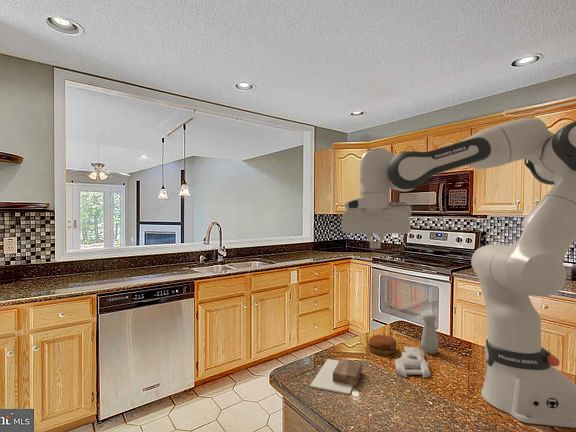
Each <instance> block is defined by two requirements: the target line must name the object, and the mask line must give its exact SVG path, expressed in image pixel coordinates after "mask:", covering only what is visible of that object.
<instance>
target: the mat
mask: <svg viewBox="0 0 576 432" xmlns="http://www.w3.org/2000/svg"><path fill="white" fill-rule="evenodd" d="M339 361H340V360H337V359H330V358H327V359H326V361H325V362H324V364H323V365H322V367H321V368H320V370H319V371H318V373H317V375H316V376H315V377H314V379H313V380H312V381H311V383H310V385H309V388H313V389H320V390H323V391H329V392H334V393H338V394H343V395H348V396H349V395H351V393H352V390H353V388H354V385H350V384H345V383H339V382H334V381H333V371H334V370H335V368H336V366H337V364H338V363H339Z"/></svg>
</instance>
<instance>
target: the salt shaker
mask: <svg viewBox="0 0 576 432" xmlns="http://www.w3.org/2000/svg"><path fill="white" fill-rule="evenodd" d="M422 320H423V321H424V322H423V328H422V332H421V340H420V348H421V350H422V351H423V352H424V353H425V354H427V355H434V354H437V352H438V351H439V347H440V345H439V340H438V339H439V338H438V334H437V330H436V325H435V323H436V321H437V316H436V314H434V313H431V312H424V313H423V314H422Z"/></svg>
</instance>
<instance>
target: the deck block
mask: <svg viewBox="0 0 576 432" xmlns="http://www.w3.org/2000/svg"><path fill="white" fill-rule="evenodd" d="M338 361H339V363H338V364H337V366H336V368H335V370H334V371H333V381H334V382H339V383H345V384H350V385H353V386H357V384H358V381H359V379H360V377H361V373H362V369H363V367H362V362H357V361H351V360H345V359H339V360H338Z"/></svg>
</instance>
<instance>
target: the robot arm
mask: <svg viewBox="0 0 576 432" xmlns="http://www.w3.org/2000/svg"><path fill="white" fill-rule="evenodd" d="M521 160H524V166H525V167H527V169H528V170H529V172H530V173H531V174H532V176H533V177H534V178H535V179H536V180H537V181H538V182H540V183H542V184H545V185H549V186H552V187H551V189H550V190H549V191H548V192H547V193H546V194H545V195H544V196H543V197H542V198H541V199H540V200H539V201H538V203H537V204H536V205H535V206H534V207H533V208H532V209H531V210H530V212H528V214H526V215H525V217H523V219H522V223H521V225H522V229H523V230H522V232H521V235H520V236H519V238H518V239H517V240H516V242H515V243H513V244H511V245H509V244H505V243H504V244H503V243H492V244H486V245H483V246H480V247H479V248H477V249H476V250H475V251H474V252H473V255H472V257H471V264H470V265H471V268H472V270H473V271H474V273H475V274H476V276H477V278H478V280H479V284H480V285H479V286H480V288H481V291H482V296H483V298H484V299H483V300H484V303H485V309H486V315H487V316H486V319H487V321H486V323H487V324H486V325H487V338H486V341H485V347H484V348H485V350H484V351H485V352H484V353H485V354H484V355H485V361H486V363H487V364H486V371H485V372H486V373H485V378H484V383H483V386H482V388H481V396H482V398H483V399H484V401H486V402H487V403H488V404H490V405H491V406H493V407H494V408H496V409H498V410H500V411H502V412H505V413H506V414H509V415H510V416H512V417H513V418H515V419H517V420H518V421H519V422H523V424H524V423H525V424H532V425H545V426H552V427H562V428H563V427H564V428H573V429H576V383H574V382H573V381H572V380H571V379H570V378H569V377H567V376H566V375H564V374H563V372H561V371H560V370H558V369H557V368H556V367H558V366H560V364H561V362H560V360H559V359H558V357H557V356H555V355H554V354H552V353H551V352H550V351H549V350H546V348H544V347H543V346H542V320H541V316H540V314H539V312H538V311H537V309H536V308H535V307H534V305H533V302H531V298H530V296H533V297H551V296H553V295H555V294H557V293H558V292H560V291H561V290H562V289H563V288H564V286H565V284H566V280H567V269H566V268H565V265H564V260H565V257H566V254H567V252H568V250H569V249H570V247H571V245H572V244H573V243H574V242H575V241H576V121H573V122H570V123H568V124H565V125H564V126H562V127H561V128H560V129H558V130H557V131H556V132H555V133H553V132H552V131H551V130H549V128H548V125H547V124H546V123H545V122H544V121H543V120H541V119H540V118H536V117H527V118H519V119H515V120H510V121H506V122H503V123H499V124H497V125H493V126H490V127H487V128H485V129H483V130H480V131H477V132H475V133H474V134H472V135H470V136H469V137H467V138H465V139H463V140H461V141H460V142H456V143H453V144H449V145H447V146H442V147H439V148H436V149H433V150H430V151H413V150H411V151H409V150H408V151H402V152H400V153H398V154H394V153H393V152H391V151H389V150H388V149H386V148H384V147H380V148H379V147H378V148H373V149H370V150H368V151H366V152H364V153H363V154H362V155H361V158H360V162H359V182H360V183H359V184H360V190H359V197H357V198H354V199H352V200H348V201H346V202H345V203H344V209H345V210H344V211H343V212H342V215H341V216H342V217H341V223H340V228H341V229H340V230H341V232H342V234H365V237H366V239H367V241H368V242H369V248H370V249H373V250H374V249H375V250H376V249H377V250H380V249H381V243H382V241H383V240H384V238H385V234H394V235H395V234H396V235H397V234H403V235H404V234H409V233H410V232H411V219H410V217H411V216H412V212H413V211H412V206H411V205H410V204H409V203H406V202H404V201H402V202H395V201H394V202H391V197H390V196H391V190H394V191H398V192H409V191H412V190H414V189H415V188H417V187H420V186H421V185H422V184H423V183H425V182H426V181H427V180H428V179H429V178H431V177H432V176H435V175H438V174H441V173H444V172H448V171H451V170H455V169H458V168H463V167H473V168H475V169H478V170H482V169H491V168H495V167H501V166H504V165H507V164H511V163H513V162H517V161H521ZM373 234H378V238H379V240H378V241H377V242H374V241H373V240H372V238H371V237H373V236H372V235H373Z"/></svg>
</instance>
